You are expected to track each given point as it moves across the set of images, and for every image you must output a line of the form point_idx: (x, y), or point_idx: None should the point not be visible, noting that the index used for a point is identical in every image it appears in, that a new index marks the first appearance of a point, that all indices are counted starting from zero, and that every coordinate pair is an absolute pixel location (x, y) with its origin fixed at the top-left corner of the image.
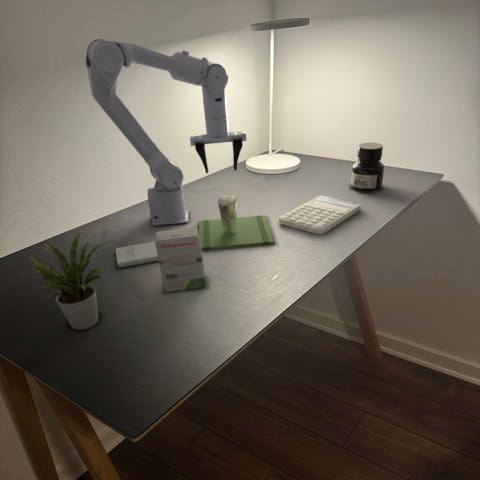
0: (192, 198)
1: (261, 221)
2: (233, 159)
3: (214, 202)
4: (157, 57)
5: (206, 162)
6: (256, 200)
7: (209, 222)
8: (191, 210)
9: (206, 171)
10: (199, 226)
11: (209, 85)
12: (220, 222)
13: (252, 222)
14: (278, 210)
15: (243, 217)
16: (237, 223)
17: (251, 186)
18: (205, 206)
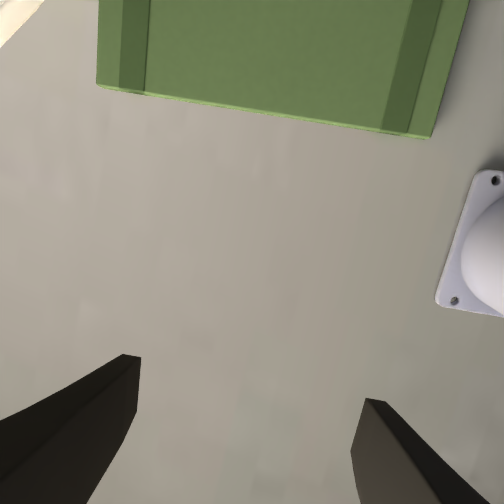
0: None
1: (130, 2)
2: (95, 481)
3: (290, 359)
4: None
5: (422, 471)
6: (112, 309)
7: (384, 98)
8: (411, 314)
9: (388, 407)
10: (448, 62)
11: None
12: (331, 76)
13: (176, 13)
14: (36, 159)
15: (206, 97)
16: (252, 27)
17: None
18: (338, 333)
